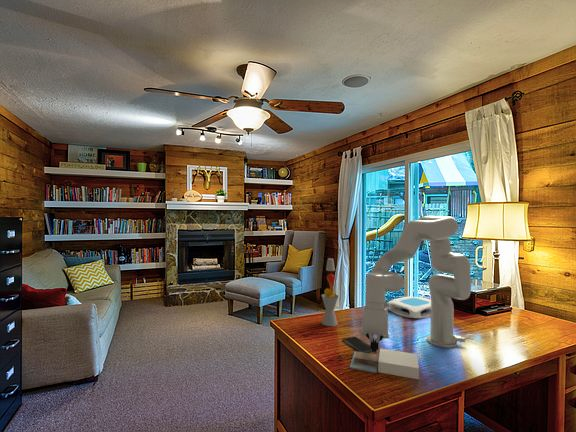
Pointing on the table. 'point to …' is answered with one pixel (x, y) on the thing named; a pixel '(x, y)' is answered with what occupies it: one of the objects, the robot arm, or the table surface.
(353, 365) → the mat
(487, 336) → the table surface
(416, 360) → the riser
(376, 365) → the walnut tile
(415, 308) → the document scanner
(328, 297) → the lava lamp
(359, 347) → the phone
